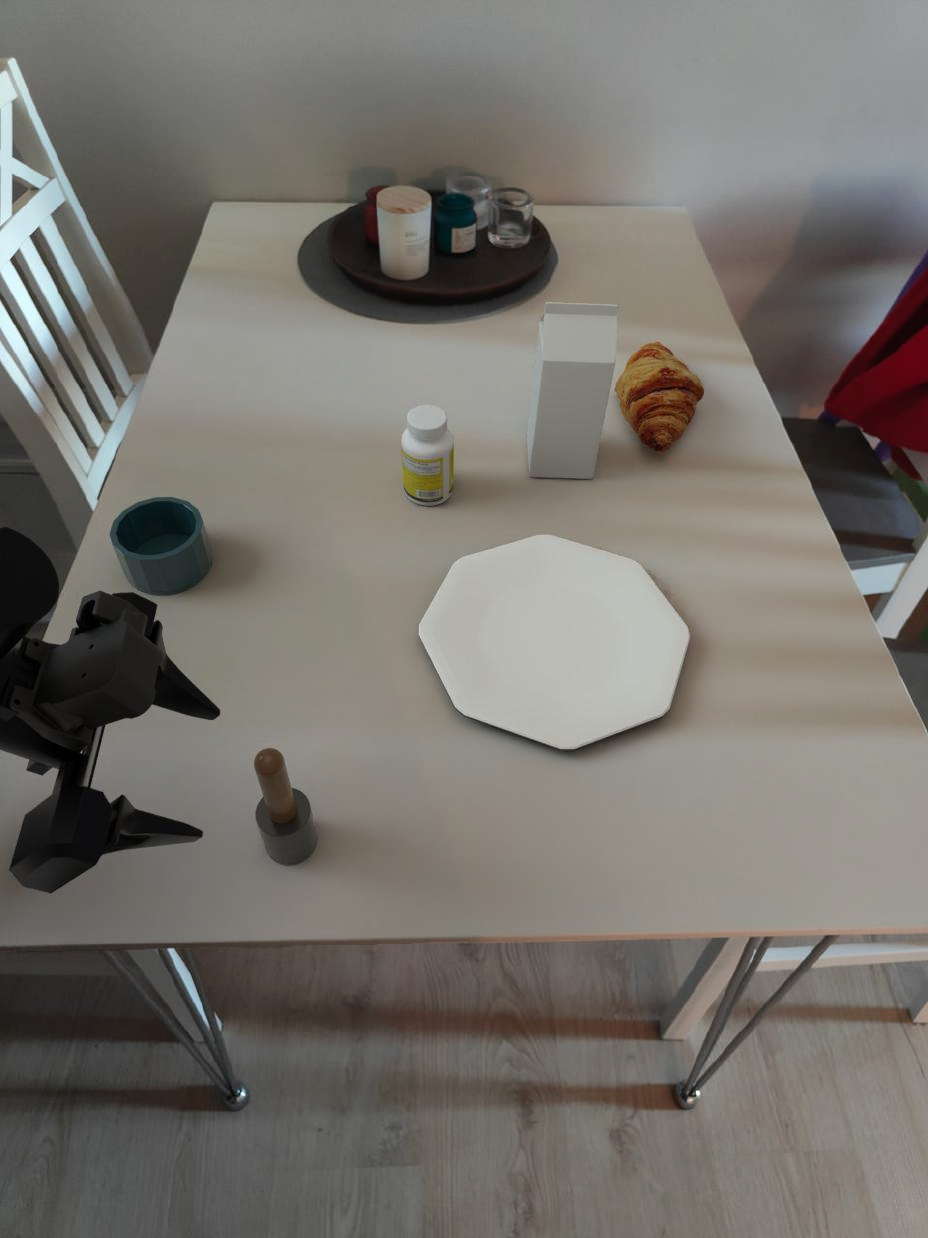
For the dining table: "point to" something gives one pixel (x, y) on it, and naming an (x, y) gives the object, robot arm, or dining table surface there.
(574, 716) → the plate
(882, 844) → the dining table surface
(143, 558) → the teal faceted cup
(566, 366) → the milk carton
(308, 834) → the coffee tamper
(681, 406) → the croissant
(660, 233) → the dining table surface
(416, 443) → the supplement bottle
